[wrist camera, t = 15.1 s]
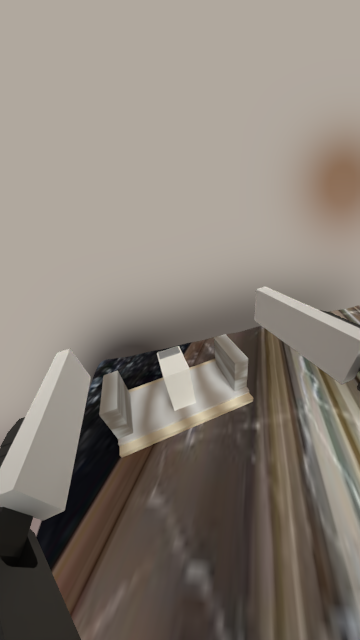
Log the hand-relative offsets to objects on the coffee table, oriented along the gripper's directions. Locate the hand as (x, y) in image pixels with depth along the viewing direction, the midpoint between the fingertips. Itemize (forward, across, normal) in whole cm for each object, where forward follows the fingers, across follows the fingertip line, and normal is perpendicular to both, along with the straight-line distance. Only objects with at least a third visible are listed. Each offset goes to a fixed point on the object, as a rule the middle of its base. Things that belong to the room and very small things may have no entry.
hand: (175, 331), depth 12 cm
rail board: (+15, 0, -30) cm, 34 cm away
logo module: (+15, 0, -28) cm, 32 cm away
